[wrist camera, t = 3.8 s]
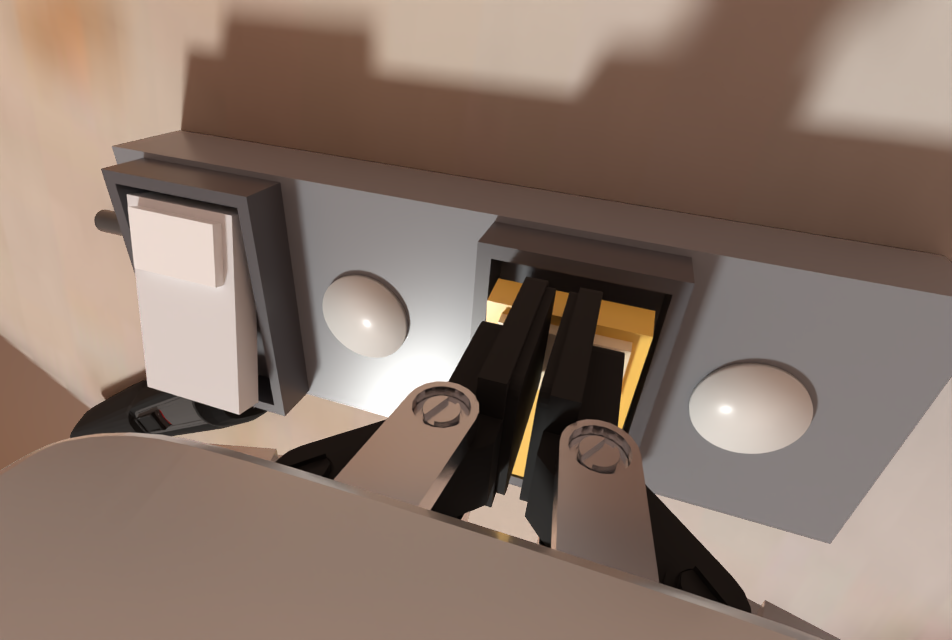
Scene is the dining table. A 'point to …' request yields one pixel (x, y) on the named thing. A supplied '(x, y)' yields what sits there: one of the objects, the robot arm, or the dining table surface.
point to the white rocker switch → (194, 300)
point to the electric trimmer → (156, 414)
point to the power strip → (567, 269)
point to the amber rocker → (613, 331)
